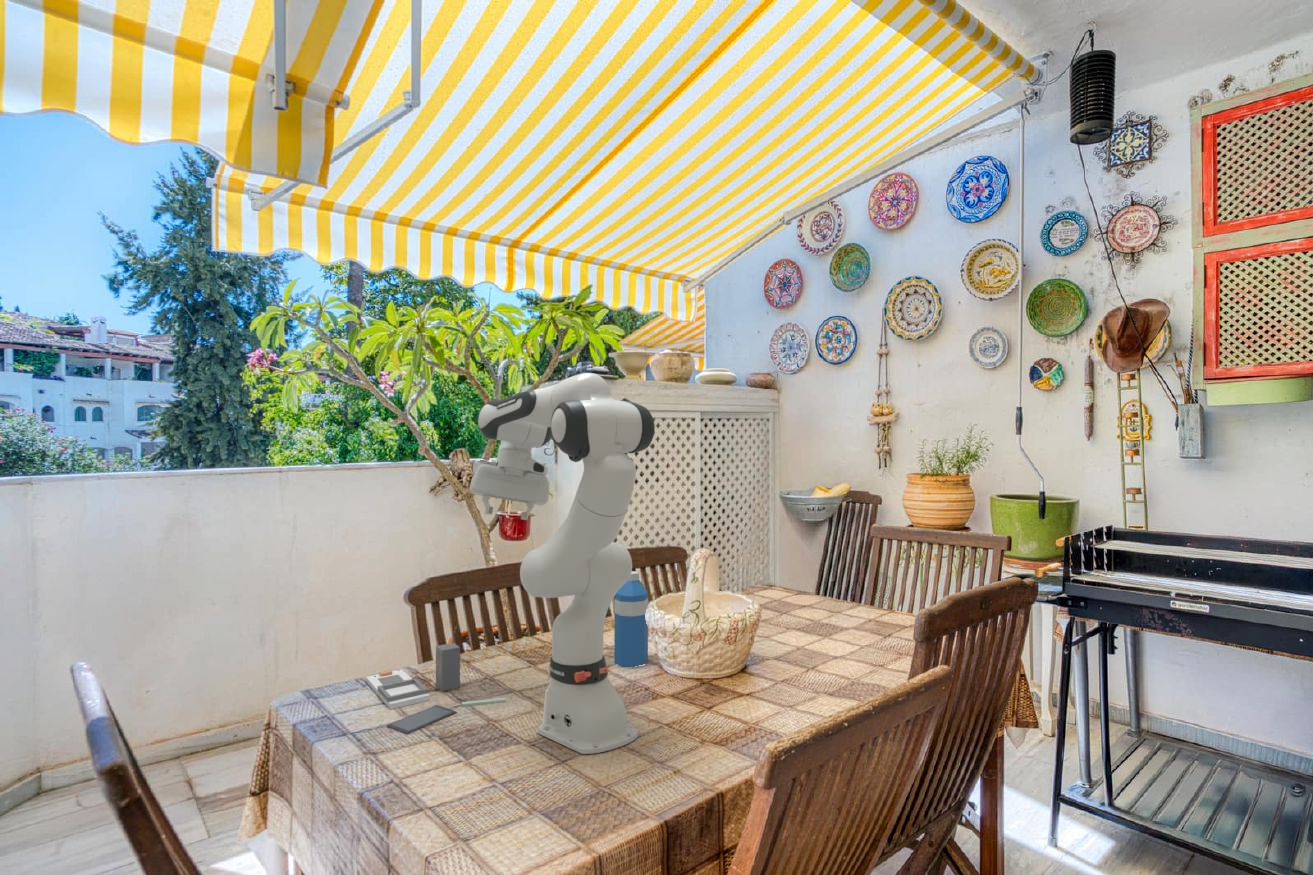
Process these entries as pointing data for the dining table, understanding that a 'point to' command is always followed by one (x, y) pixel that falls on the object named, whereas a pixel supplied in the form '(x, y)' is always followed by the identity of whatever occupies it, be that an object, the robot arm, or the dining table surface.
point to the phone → (421, 719)
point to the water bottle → (631, 623)
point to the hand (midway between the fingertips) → (506, 516)
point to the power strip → (398, 688)
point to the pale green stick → (484, 702)
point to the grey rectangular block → (447, 666)
